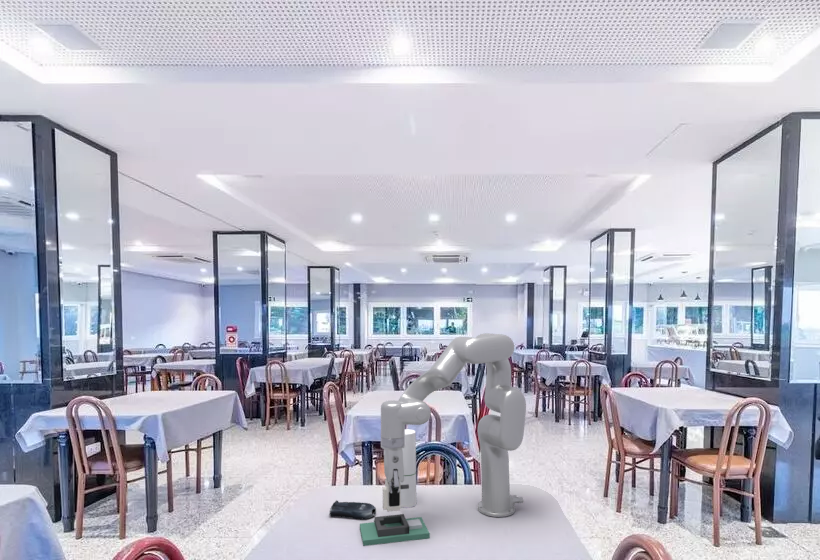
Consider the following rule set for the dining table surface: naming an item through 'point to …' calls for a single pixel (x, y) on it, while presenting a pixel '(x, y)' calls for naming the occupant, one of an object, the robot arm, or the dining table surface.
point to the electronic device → (352, 510)
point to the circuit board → (393, 530)
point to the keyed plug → (386, 496)
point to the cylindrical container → (409, 470)
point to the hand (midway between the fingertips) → (392, 501)
